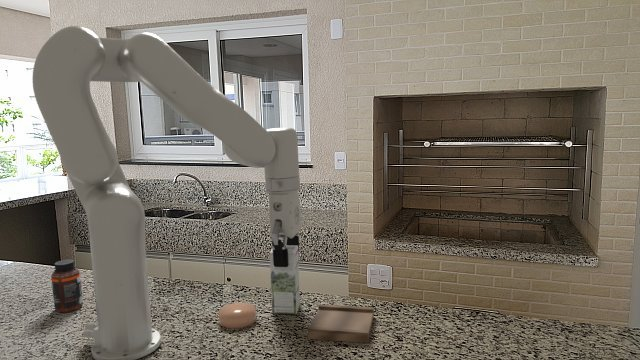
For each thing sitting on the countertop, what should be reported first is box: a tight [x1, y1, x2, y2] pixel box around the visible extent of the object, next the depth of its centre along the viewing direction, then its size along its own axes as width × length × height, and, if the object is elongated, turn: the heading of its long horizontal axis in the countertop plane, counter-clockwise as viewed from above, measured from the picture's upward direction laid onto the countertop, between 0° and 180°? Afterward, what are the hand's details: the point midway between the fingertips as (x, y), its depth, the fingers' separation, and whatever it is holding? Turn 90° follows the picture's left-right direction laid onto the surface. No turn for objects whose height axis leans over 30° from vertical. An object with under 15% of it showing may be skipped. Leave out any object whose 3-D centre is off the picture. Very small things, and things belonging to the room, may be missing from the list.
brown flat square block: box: [307, 304, 375, 344], centre depth 100 cm, size 12×12×2 cm
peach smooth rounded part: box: [218, 302, 257, 329], centre depth 105 cm, size 8×8×2 cm
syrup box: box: [269, 246, 301, 315], centre depth 109 cm, size 6×6×14 cm
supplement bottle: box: [50, 259, 84, 313], centre depth 113 cm, size 6×6×11 cm
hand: (287, 259), depth 109 cm, fingers open, 9 cm apart
